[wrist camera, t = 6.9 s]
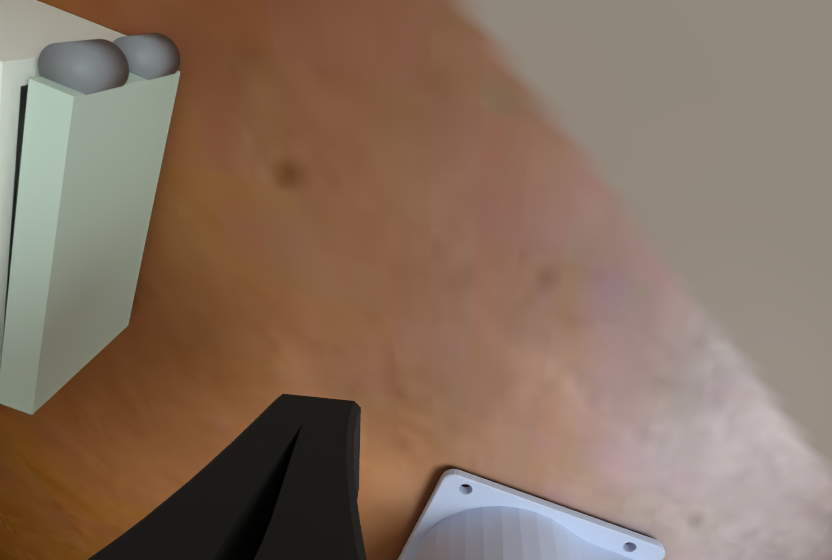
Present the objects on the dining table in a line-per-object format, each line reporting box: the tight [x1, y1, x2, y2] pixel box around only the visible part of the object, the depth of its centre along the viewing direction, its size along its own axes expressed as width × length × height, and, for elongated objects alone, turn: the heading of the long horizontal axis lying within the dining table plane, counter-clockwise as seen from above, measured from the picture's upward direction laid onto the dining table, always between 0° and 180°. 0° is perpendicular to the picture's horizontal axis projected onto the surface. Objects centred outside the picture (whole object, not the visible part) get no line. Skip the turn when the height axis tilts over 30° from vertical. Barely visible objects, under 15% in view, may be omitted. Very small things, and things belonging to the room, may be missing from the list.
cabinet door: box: [0, 33, 180, 415], centre depth 17 cm, size 1×10×5 cm, turn 159°
